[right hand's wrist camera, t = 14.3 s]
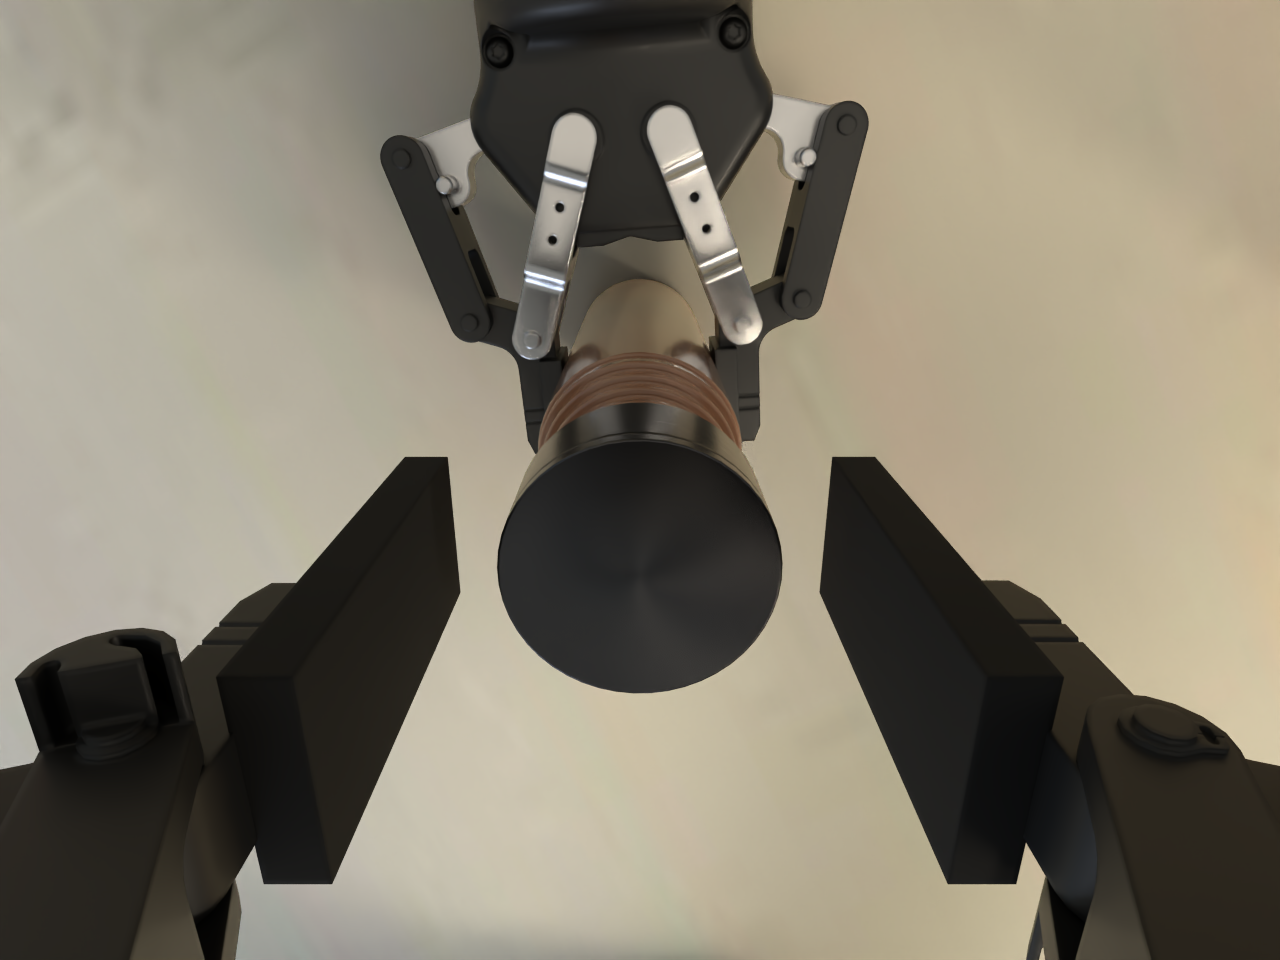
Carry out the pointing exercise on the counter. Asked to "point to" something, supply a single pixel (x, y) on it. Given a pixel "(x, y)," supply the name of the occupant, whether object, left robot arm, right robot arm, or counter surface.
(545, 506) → the cap
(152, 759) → the right robot arm
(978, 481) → the counter surface
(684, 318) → the bottle
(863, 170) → the counter surface
